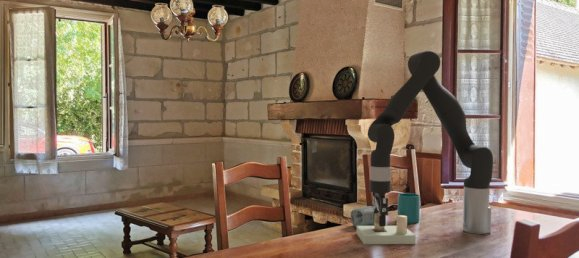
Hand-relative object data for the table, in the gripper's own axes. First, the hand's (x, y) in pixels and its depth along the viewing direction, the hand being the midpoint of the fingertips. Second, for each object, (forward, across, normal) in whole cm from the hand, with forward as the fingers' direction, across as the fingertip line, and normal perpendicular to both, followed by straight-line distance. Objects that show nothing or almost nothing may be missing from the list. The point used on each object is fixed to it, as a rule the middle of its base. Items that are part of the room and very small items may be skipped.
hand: (379, 223), depth 168 cm
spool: (+6, +18, +1) cm, 19 cm away
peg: (+6, 0, 0) cm, 6 cm away
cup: (+6, +28, -20) cm, 35 cm away
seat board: (+6, 0, -2) cm, 6 cm away
